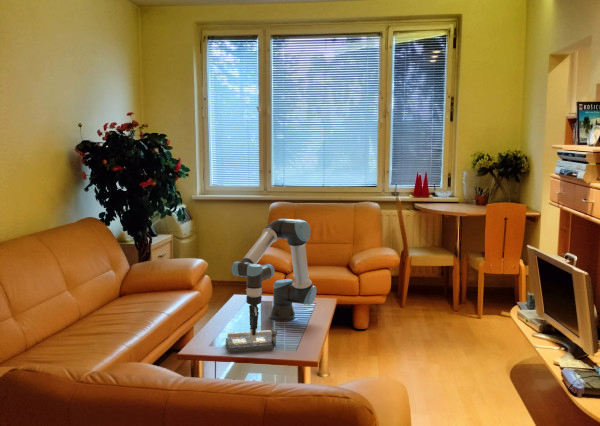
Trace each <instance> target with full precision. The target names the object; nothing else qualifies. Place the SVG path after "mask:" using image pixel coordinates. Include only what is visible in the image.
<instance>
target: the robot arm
mask: <svg viewBox="0 0 600 426" xmlns="http://www.w3.org/2000/svg"><path fill="white" fill-rule="evenodd" d="M310 237H311V226H310V224H309V223H308V222H307V221H305V220H303V219H291V218H283V217H282V218H277V219H276V220H273V221H271V222H270V223H268V224H267V225H266V226H265V227H264V228H263V230H262V232H261V235H260V236H259V238H257V240H256V241H255V243H254V244H253V246H252V247H251V248H250V249H249V251H248V252H247V253H246V254H245V256H243V258H242V259H241V260H240V261H239V260H237V261H234V262H233V263H232V266H231V272H232V275H233V276H237V277H242V278H246V289H245V292H246V301H245V302H246V304H248V305H249V306H248V307H249V308H248V309H249V325H250V327H249V331H250V341H256V331H257V330H258V322H259V321H258V320H259V312H260V311H259V307H258V305H260V304H262V295H263V294H262V293H263V290H262V289H263V286H262V284H263V281H267V280H269V279H271V278H273V277H274V276H275V273H276V272H275V271H276V270H275V267H274V266H273V265H272V264H270V263H265V264H258V263H259V261H260V260H261V259H262V257H263V256H264V255H265V253H267V250H268V249H269V248H270V247H271V245H272V244H273V243H276V242H277V240H279V239H283V240H286V242H287V243H286V244H287V245H288V246H289V247H290V254H291V262H292V270H293V271H292V272H293V277H294V279H291V278H285V279H283V278H282V279H278V280H276V281H274V282H273V289H272V290H273V293H272V294H273V296H272V297H273V298H272V299H273V302H272V303H273V305H272V308H271V310H270V312H269V318H270V319H272V320H274V321H284V320H287V321H290V320H289V319H292V318H293V317H294V316H296V314H295V311H294V307H293V303H295V304H302V305H308V306H309V305H312V304H313V303H314V301H315V300H316V297H317V287H316V286H315V285H313V282H312V280H311V279H310V276H309V267H308V259H307V248H306V244H307V243H308V242H309V240H310ZM292 320H293V319H292Z"/></svg>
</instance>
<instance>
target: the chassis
mask: <svg viewBox="0 0 600 426" xmlns="http://www.w3.org/2000/svg"><path fill="white" fill-rule="evenodd" d="M270 336H271V335H270ZM225 345H226V348H227V351H228V352H229V354H241V353H243V354H244V353H256V352H271V351H272V350H274V347H276V345H277V335H276V336H271V339H270V338H269V335H266V336H256V341H250V337H235V338H228V337H226V338H225Z"/></svg>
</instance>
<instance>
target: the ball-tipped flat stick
mask: <svg viewBox="0 0 600 426" xmlns="http://www.w3.org/2000/svg"><path fill="white" fill-rule="evenodd" d="M277 335H278V329H277V328H271V329H269V330H268V329H267V330H256V336H276V337H277ZM238 337H250V330H248V331H239V332H238V331H237V332H227V338H238Z"/></svg>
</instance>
